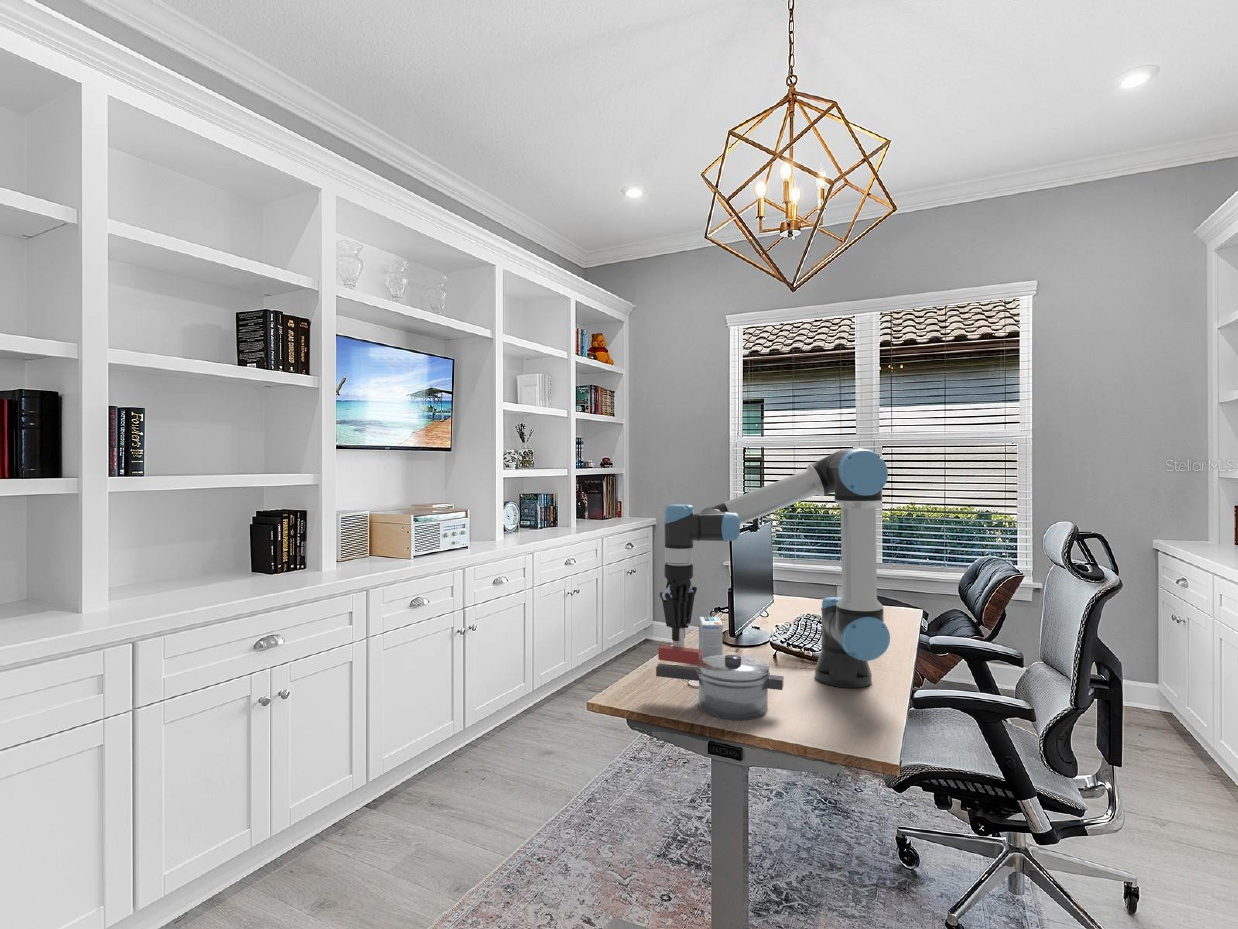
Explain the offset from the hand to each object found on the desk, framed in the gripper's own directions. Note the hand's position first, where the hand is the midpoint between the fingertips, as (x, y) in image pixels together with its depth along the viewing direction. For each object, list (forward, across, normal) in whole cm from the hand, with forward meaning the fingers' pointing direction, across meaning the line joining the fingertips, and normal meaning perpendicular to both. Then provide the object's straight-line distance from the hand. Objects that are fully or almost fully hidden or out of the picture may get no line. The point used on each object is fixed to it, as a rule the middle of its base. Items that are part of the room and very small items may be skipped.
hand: (678, 652), depth 176 cm
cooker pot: (+11, -1, +12) cm, 16 cm away
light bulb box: (+12, -35, -16) cm, 40 cm away
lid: (+2, -1, +10) cm, 11 cm away
